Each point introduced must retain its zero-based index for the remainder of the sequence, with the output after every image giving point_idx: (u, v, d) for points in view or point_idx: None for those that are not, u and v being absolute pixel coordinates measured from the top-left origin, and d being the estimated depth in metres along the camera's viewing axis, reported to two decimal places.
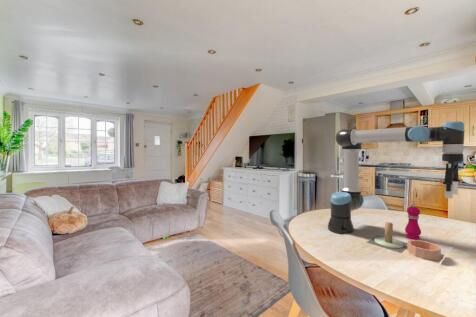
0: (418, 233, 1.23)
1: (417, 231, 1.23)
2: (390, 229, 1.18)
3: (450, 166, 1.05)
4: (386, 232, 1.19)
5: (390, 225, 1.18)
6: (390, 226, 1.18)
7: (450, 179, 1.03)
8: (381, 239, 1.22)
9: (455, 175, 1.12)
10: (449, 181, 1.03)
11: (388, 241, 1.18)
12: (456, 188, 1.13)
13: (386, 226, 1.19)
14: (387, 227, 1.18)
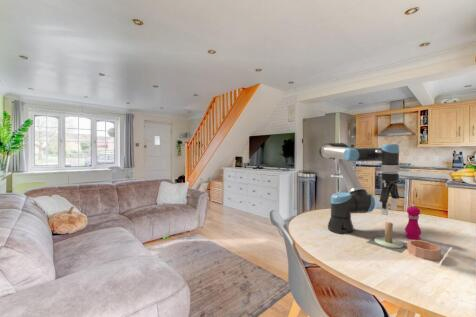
0: (418, 233, 1.23)
1: (417, 231, 1.23)
2: (390, 229, 1.18)
3: (386, 186, 1.14)
4: (386, 232, 1.19)
5: (390, 225, 1.18)
6: (390, 226, 1.18)
7: (384, 198, 1.12)
8: (381, 239, 1.22)
9: (394, 193, 1.21)
10: (383, 199, 1.12)
11: (388, 241, 1.18)
12: (395, 204, 1.22)
13: (386, 226, 1.19)
14: (387, 227, 1.18)
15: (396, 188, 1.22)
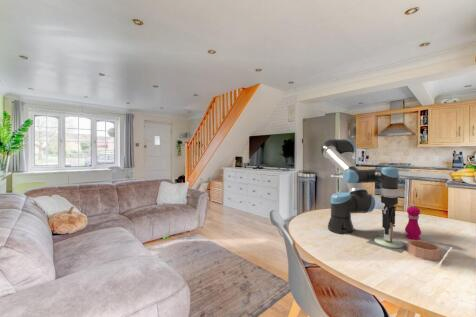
0: (418, 233, 1.23)
1: (417, 231, 1.23)
2: None
3: (385, 213, 1.15)
4: None
5: (390, 225, 1.18)
6: (390, 226, 1.18)
7: (386, 225, 1.15)
8: (381, 239, 1.22)
9: (391, 218, 1.20)
10: (386, 227, 1.16)
11: (388, 241, 1.18)
12: None
13: None
14: None
15: (394, 214, 1.21)
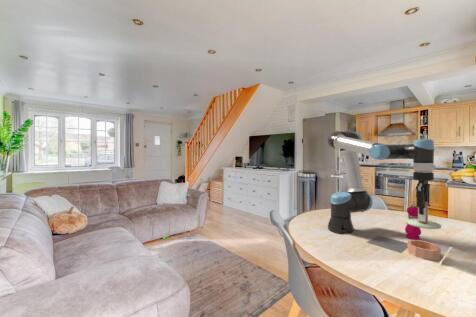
0: (418, 233, 1.23)
1: (417, 231, 1.23)
2: None
3: (420, 190, 1.02)
4: None
5: (425, 204, 1.05)
6: (425, 205, 1.05)
7: (422, 203, 1.03)
8: (414, 221, 1.09)
9: (425, 196, 1.07)
10: (421, 205, 1.03)
11: (423, 222, 1.06)
12: None
13: None
14: None
15: (428, 192, 1.08)
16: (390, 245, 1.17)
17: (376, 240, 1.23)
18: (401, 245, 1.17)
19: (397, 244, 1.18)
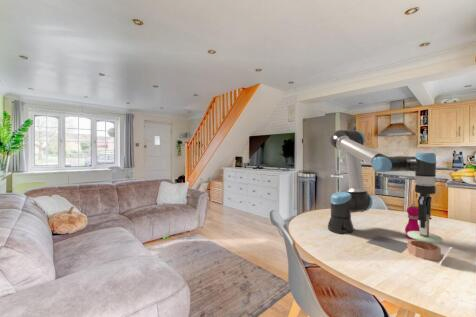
0: None
1: None
2: None
3: (422, 203, 1.02)
4: None
5: None
6: None
7: (423, 217, 1.02)
8: (415, 233, 1.09)
9: (427, 209, 1.07)
10: (423, 219, 1.03)
11: (424, 235, 1.05)
12: None
13: None
14: None
15: (430, 205, 1.08)
16: (390, 245, 1.17)
17: (376, 240, 1.23)
18: (401, 245, 1.17)
19: (397, 244, 1.18)
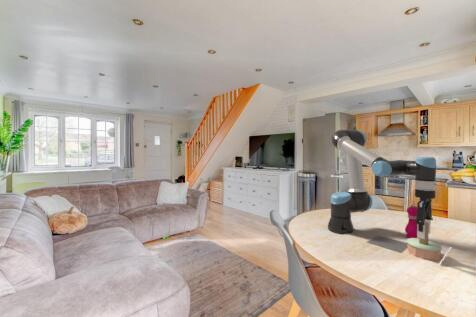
0: None
1: None
2: (426, 229, 1.05)
3: (422, 206, 1.02)
4: None
5: (426, 225, 1.05)
6: (426, 226, 1.05)
7: (421, 220, 1.01)
8: (414, 241, 1.10)
9: (428, 212, 1.08)
10: (421, 222, 1.01)
11: (423, 243, 1.06)
12: (429, 227, 1.09)
13: None
14: None
15: None
16: (390, 245, 1.17)
17: (376, 240, 1.23)
18: (401, 245, 1.17)
19: (397, 244, 1.18)
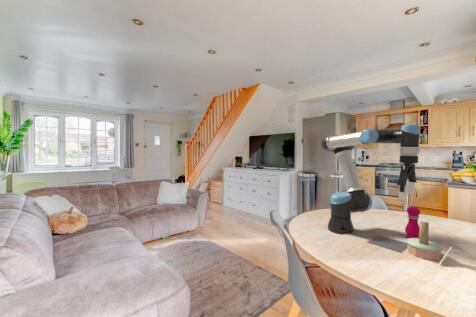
0: (418, 233, 1.23)
1: (417, 231, 1.23)
2: (426, 229, 1.05)
3: (404, 168, 1.09)
4: (421, 233, 1.06)
5: (426, 225, 1.05)
6: (426, 226, 1.05)
7: (403, 180, 1.07)
8: (414, 241, 1.10)
9: (411, 176, 1.16)
10: (402, 182, 1.07)
11: (423, 243, 1.06)
12: (412, 188, 1.17)
13: (422, 226, 1.06)
14: (422, 227, 1.06)
15: (414, 171, 1.17)
16: (390, 245, 1.17)
17: (376, 240, 1.23)
18: (401, 245, 1.17)
19: (397, 244, 1.18)
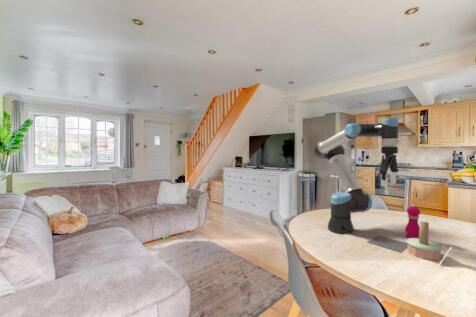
0: (418, 233, 1.23)
1: (417, 231, 1.23)
2: (426, 229, 1.05)
3: (385, 158, 1.18)
4: (421, 233, 1.06)
5: (426, 225, 1.05)
6: (426, 226, 1.05)
7: (384, 169, 1.16)
8: (414, 241, 1.10)
9: (393, 166, 1.25)
10: (383, 171, 1.16)
11: (423, 243, 1.06)
12: (394, 178, 1.26)
13: (422, 226, 1.06)
14: (422, 227, 1.06)
15: (395, 162, 1.26)
16: (390, 245, 1.17)
17: (376, 240, 1.23)
18: (401, 245, 1.17)
19: (397, 244, 1.18)
